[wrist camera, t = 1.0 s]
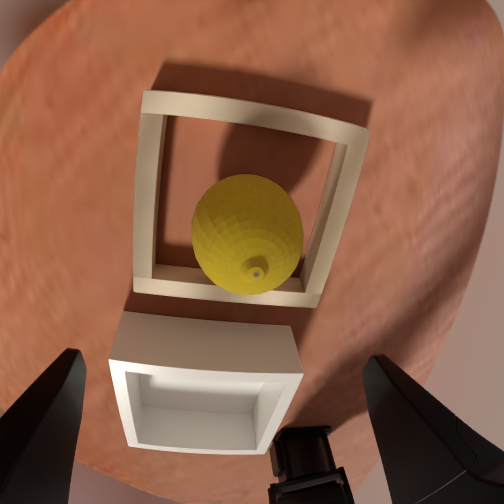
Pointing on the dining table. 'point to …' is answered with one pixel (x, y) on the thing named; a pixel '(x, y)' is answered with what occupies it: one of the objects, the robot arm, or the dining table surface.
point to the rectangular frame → (258, 114)
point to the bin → (202, 382)
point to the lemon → (247, 234)
